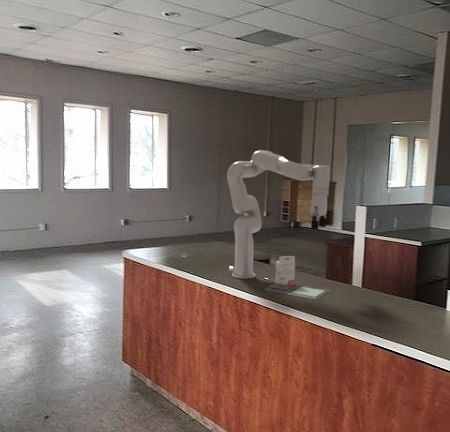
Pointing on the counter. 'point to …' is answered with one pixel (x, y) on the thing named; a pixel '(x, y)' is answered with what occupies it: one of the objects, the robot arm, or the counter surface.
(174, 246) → the counter surface
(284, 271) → the ink cartridge box
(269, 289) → the ink pad
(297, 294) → the marked card
